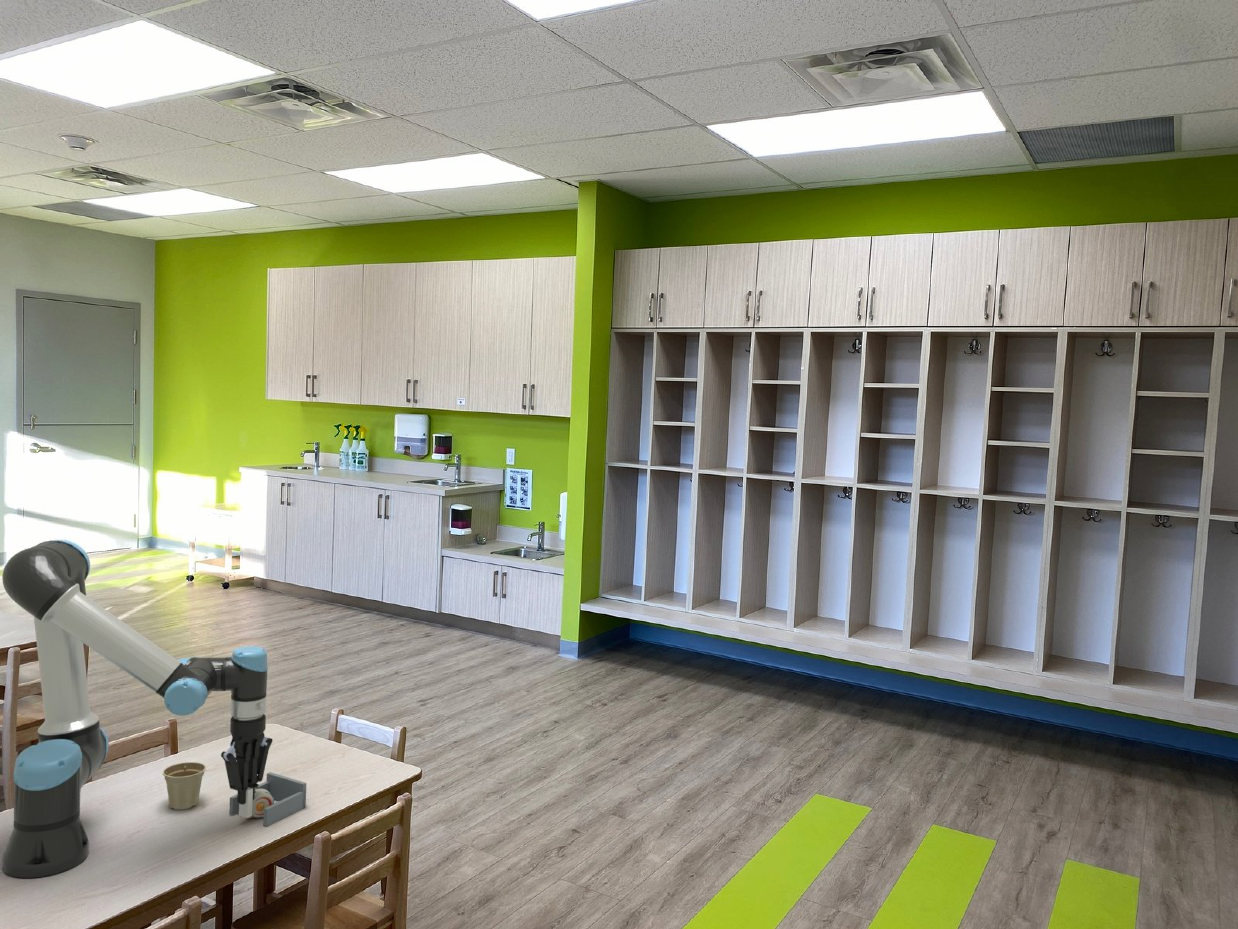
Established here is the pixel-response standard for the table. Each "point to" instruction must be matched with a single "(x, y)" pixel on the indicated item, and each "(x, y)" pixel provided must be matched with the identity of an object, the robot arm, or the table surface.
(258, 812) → the roller toy
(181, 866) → the table surface
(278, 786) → the bin
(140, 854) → the table surface
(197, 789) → the flower pot
